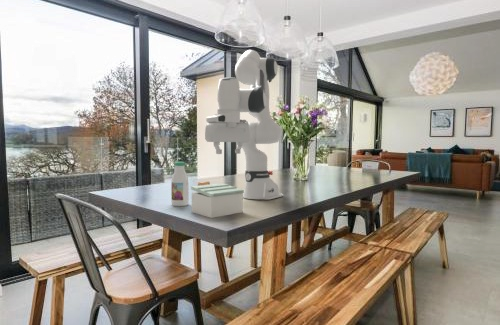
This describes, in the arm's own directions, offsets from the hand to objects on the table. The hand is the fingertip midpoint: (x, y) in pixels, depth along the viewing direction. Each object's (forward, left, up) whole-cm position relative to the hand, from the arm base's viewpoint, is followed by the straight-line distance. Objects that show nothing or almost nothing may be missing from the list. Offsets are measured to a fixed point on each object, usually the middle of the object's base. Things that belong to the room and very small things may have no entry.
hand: (228, 153), depth 129 cm
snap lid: (0, 0, -16) cm, 17 cm away
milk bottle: (+4, -31, -25) cm, 40 cm away
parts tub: (0, -8, -25) cm, 26 cm away
